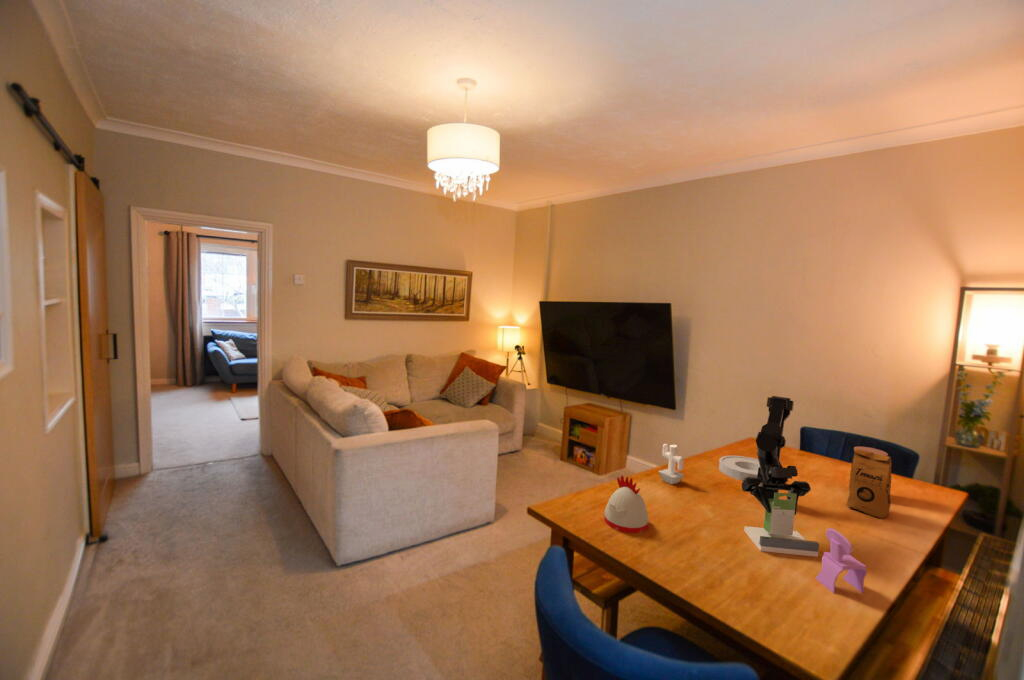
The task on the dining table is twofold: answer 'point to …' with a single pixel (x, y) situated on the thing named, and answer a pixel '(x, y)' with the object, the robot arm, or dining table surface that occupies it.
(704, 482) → the dining table surface
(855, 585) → the toy chair
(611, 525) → the kitchen timer
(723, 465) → the ashtray
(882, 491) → the coffee package
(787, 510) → the ink box
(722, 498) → the dining table surface
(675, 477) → the figurine
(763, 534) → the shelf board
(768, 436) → the robot arm
